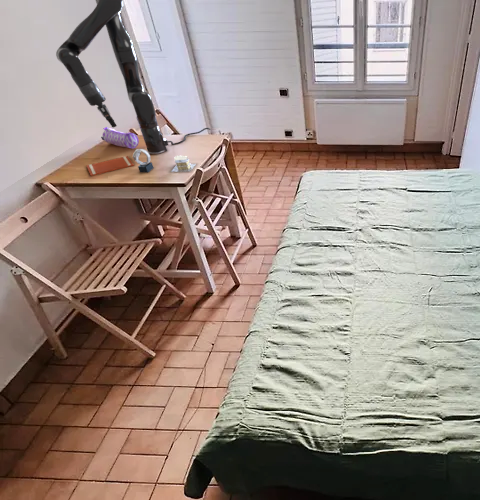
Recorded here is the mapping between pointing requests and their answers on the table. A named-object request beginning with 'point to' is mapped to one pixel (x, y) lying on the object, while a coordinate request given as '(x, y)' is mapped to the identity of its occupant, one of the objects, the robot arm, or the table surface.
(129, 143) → the pencil case
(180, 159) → the stacked layers on plate
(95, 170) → the cloth
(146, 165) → the watch
